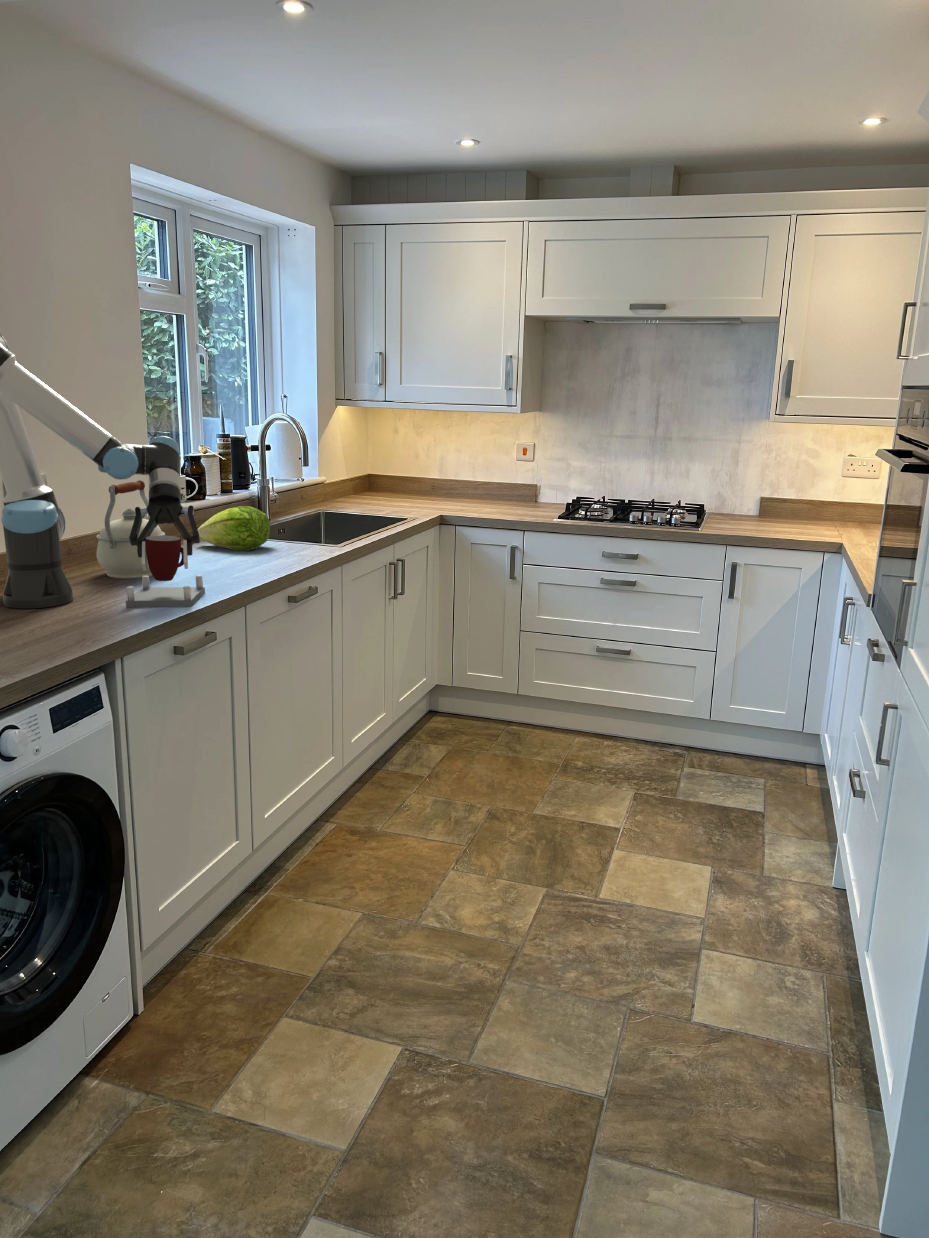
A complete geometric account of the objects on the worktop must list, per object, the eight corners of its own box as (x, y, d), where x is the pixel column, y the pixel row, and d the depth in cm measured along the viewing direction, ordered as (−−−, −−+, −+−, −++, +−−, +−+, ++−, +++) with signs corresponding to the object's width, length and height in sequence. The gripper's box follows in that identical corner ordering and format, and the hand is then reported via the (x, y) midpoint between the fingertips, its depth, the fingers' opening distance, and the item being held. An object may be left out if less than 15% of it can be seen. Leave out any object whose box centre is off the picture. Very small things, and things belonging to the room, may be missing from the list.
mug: (171, 573, 229) (170, 533, 227) (195, 578, 226) (195, 537, 223) (138, 579, 220) (137, 537, 218) (163, 584, 217) (163, 542, 214)
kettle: (143, 583, 243) (136, 487, 237) (80, 580, 246) (71, 485, 240) (189, 566, 266) (184, 478, 260) (131, 563, 270) (124, 477, 264)
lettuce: (213, 521, 308) (187, 503, 294) (278, 514, 300) (254, 496, 287) (209, 562, 304) (181, 546, 290) (274, 556, 296) (250, 539, 283)
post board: (126, 607, 216) (124, 588, 215) (143, 593, 231) (142, 575, 230) (191, 606, 217) (190, 587, 216) (204, 592, 232) (203, 575, 231)
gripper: (210, 499, 236) (213, 573, 224) (121, 501, 231) (119, 577, 220) (208, 480, 229) (211, 555, 218) (116, 482, 224) (114, 559, 213)
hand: (165, 566), depth 219 cm, fingers closed on mug, 9 cm apart
